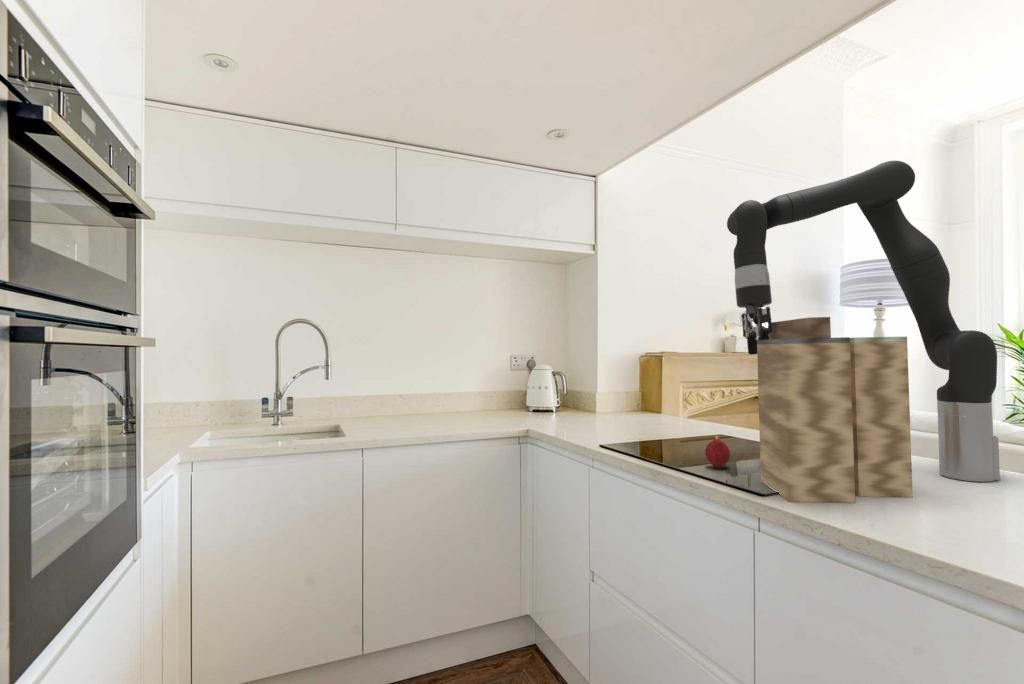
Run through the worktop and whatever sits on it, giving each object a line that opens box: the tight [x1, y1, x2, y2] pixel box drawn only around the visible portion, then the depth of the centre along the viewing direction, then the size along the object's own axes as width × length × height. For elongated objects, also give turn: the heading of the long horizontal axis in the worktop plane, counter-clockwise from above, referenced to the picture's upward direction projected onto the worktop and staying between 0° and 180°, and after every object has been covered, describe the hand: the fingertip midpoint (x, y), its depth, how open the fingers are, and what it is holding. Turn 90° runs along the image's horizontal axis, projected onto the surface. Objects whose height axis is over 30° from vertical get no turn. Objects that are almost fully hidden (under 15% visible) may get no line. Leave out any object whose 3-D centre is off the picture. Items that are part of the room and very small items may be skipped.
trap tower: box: [756, 336, 856, 504], centre depth 103 cm, size 12×14×32 cm
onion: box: [704, 435, 731, 469], centre depth 125 cm, size 6×6×8 cm
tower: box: [850, 336, 914, 498], centre depth 105 cm, size 10×14×32 cm
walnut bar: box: [769, 316, 832, 340], centre depth 107 cm, size 4×24×4 cm, turn 174°
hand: (758, 353), depth 116 cm, fingers open, 8 cm apart
